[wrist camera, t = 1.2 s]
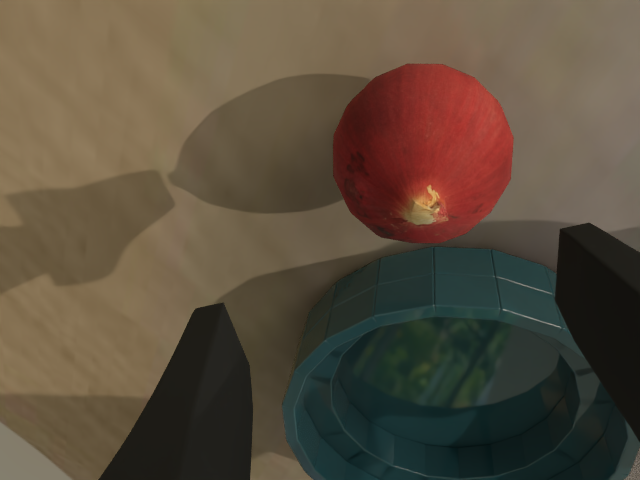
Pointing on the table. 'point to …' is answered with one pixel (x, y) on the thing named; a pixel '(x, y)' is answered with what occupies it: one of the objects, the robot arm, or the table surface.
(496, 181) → the onion
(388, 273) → the teal bowl
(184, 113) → the table surface
